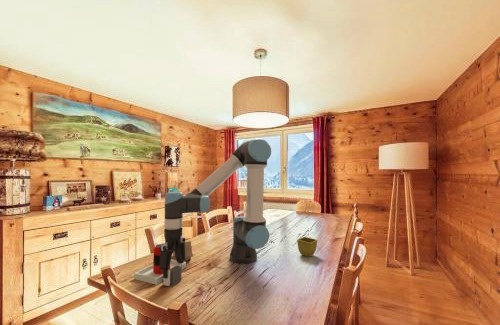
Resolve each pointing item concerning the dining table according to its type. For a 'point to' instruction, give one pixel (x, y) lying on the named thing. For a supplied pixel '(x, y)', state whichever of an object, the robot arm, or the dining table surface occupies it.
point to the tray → (150, 276)
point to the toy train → (187, 250)
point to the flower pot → (307, 246)
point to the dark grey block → (175, 275)
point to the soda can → (157, 259)
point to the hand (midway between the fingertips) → (172, 281)
